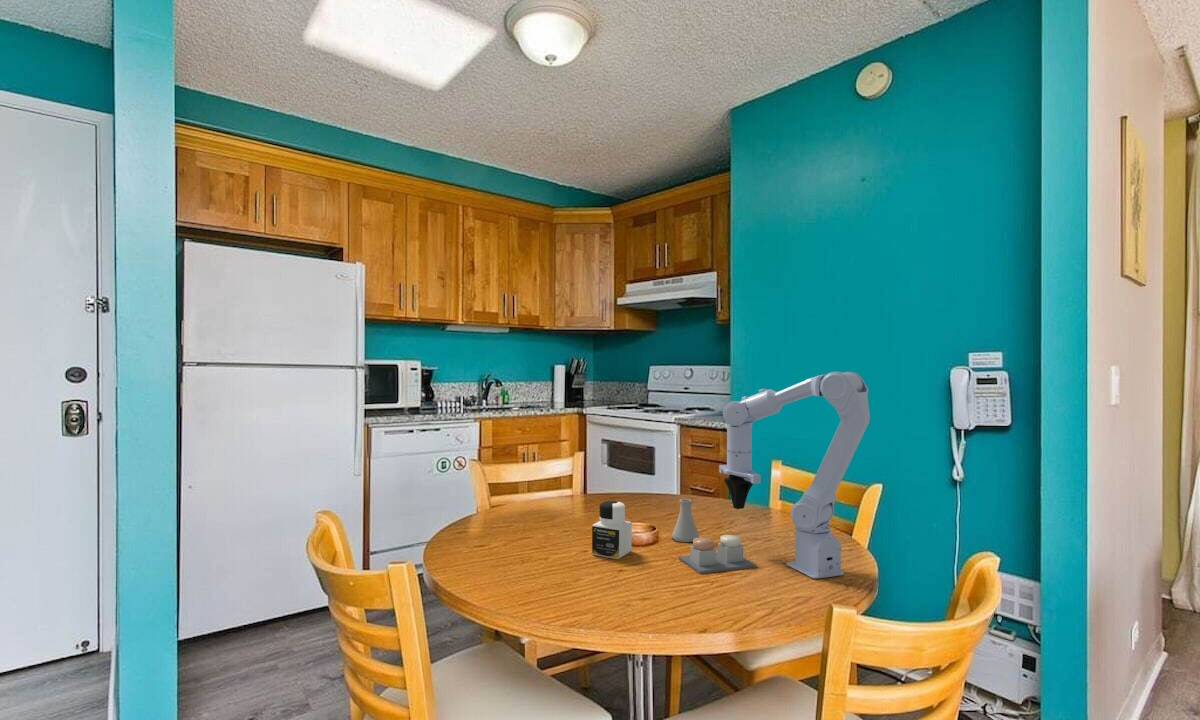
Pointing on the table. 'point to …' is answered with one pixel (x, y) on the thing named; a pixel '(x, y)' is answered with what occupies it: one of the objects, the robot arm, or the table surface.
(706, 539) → the terracotta knob
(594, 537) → the medicine bottle
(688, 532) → the flask
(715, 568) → the knob mount
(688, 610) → the table surface
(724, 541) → the cream knob
